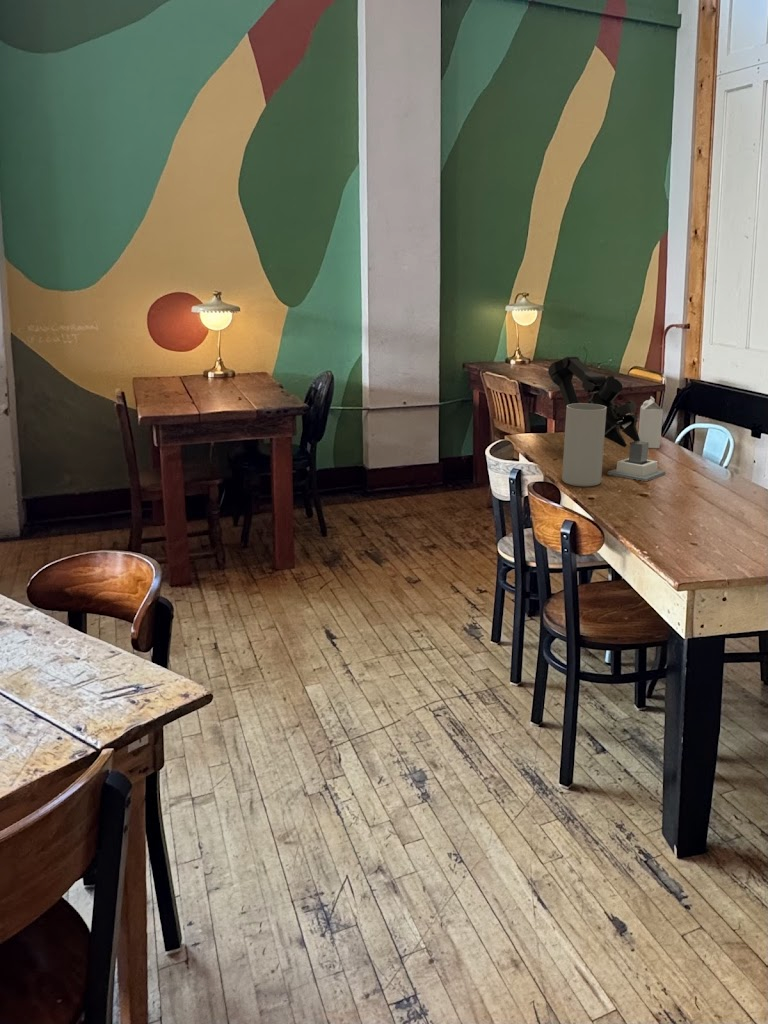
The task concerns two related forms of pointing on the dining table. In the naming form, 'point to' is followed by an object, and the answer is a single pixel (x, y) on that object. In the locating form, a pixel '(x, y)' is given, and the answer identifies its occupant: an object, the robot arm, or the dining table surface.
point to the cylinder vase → (584, 444)
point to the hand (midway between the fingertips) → (632, 444)
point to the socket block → (637, 470)
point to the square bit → (638, 452)
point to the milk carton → (650, 423)
